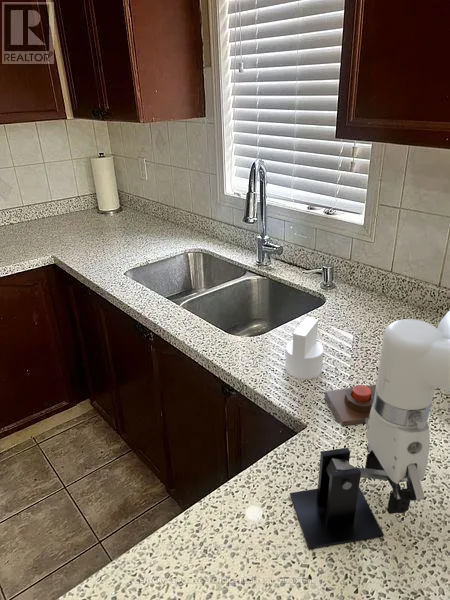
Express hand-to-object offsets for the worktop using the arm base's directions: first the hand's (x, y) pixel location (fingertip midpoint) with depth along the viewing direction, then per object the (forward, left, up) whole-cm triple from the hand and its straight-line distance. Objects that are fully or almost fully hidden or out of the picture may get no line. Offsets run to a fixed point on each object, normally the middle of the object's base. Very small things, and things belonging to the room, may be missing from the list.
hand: (385, 489), depth 72 cm
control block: (-7, -24, -5) cm, 25 cm away
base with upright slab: (0, -41, -5) cm, 41 cm away
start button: (-7, -24, -1) cm, 25 cm away
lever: (+5, 0, +3) cm, 6 cm away
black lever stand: (+8, 0, -5) cm, 10 cm away
